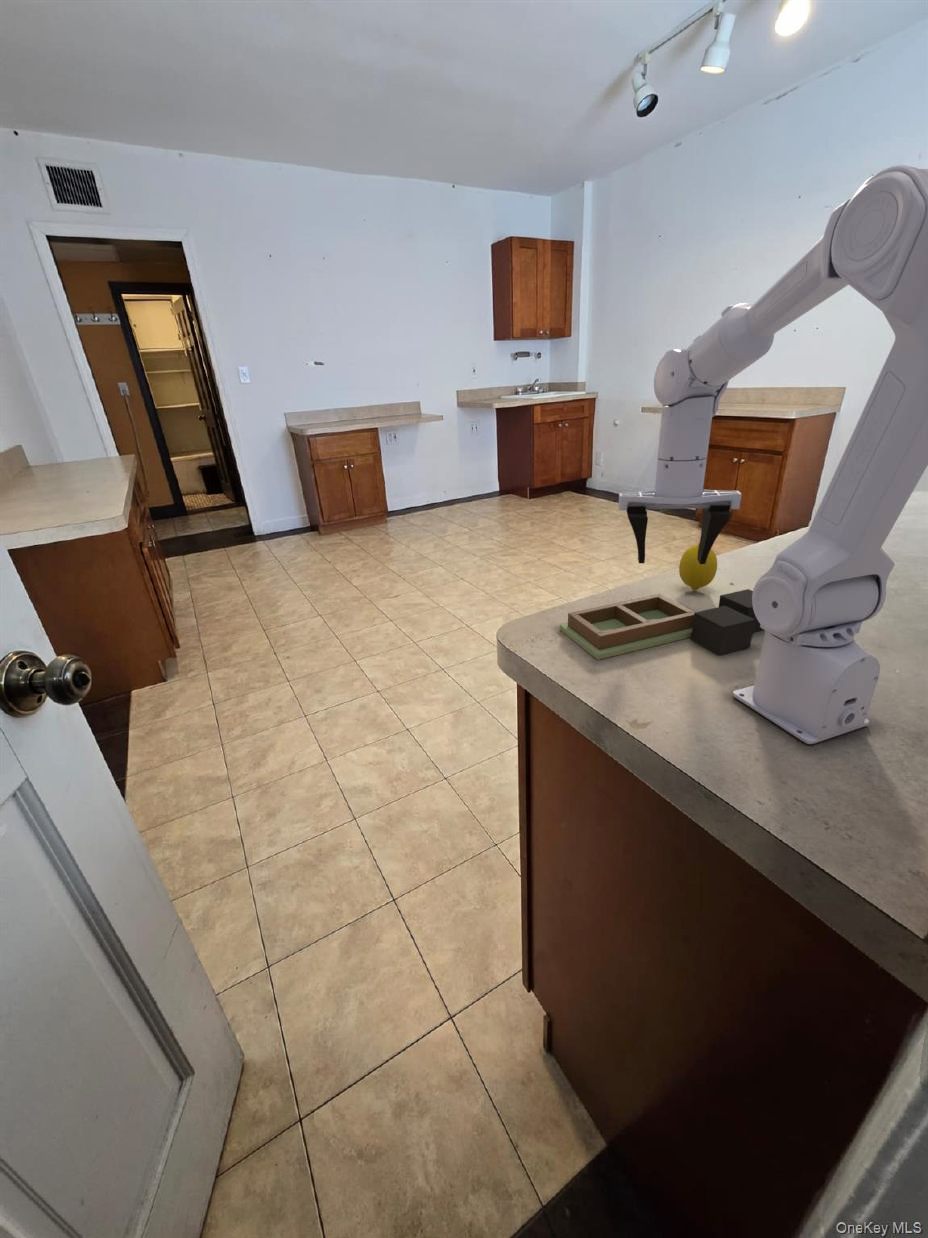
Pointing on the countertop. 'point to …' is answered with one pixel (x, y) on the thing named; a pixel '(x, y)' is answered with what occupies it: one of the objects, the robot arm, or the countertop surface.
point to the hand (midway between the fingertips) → (670, 561)
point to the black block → (741, 604)
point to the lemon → (697, 568)
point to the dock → (629, 625)
